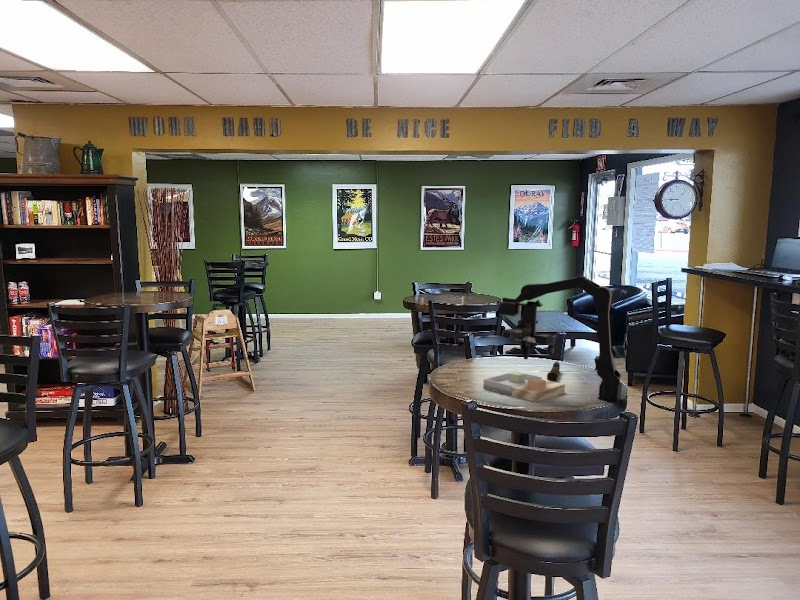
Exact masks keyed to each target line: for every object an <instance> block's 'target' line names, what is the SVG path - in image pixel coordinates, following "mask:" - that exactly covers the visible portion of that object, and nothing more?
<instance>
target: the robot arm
mask: <svg viewBox="0 0 800 600" xmlns="http://www.w3.org/2000/svg"><path fill="white" fill-rule="evenodd" d="M576 288H579V289H581V290H582V291H584V292H585V293H586V294H588V295H589V296H590V297H592V300H593V303H594V307H595V310H596V314H597V328H598V330H597V331H598V348H599V354H598V355H596V356H595V357H594V359H593V360H594V364H595V368H594V371H596V373H597V376H598V377H599V378H601V380H600V384H599V385H598V387H599V389H598V396H597V399H598V400H602V401H607V402H611V403H613V404H614V403H615V404H616V403H618V402H620V401H623V400H624V399H623V397H622V388H623V383H622V382H621V378H622V374H621V373H620V372H619V371H618V369H617V366H616V363H615V359H614V356H613V351H612V340H611V323H610V322H611V321H610V310H611V305H612V304H611V303H612V296H613V293H612V290H611V288H609V287H608V286H605V285H599V284H598V283H597V282H594V281H593V280H590V279H589V278H587V277H586V276H584V275H578V276H576V277H573V278H567V279H561V280H557V281H552V282H547V283H541V282H540V283H528V284H525V285H523V286H522V288H520V293H519V295H518V296H516V298H510V297H502V299H501V303H500V306H499V313H500V315H501V316H503V317H504V316H505V317H506V316H507V317H517V316H518V315H520V317H519V318H520V319H518V321H517V325H515V326H513V327H512V328H506V329H503V331H502V333H501V335H502V338H507V339H513V340H514V341H515V342H516V343H518V345H519V346H520V347H519V348H520V350H521V353H522V356H523V359H524V360H528V358H529V357H530V355H531V353H532V352H533V350H534V348H535V346H536V345H537V344H538V345H543V346H544V345H545V346H546V345H550V344H554V338H553V336H552V335H549V334H544V333H542V334H538V331H537V330H536V327H537V324H538V323H539V320H537V313H538V310H537V309H538V308H541V307H543V305H544V304H543V303H542V302H540V299H537V298H539V297H542V296H545V295H547V294H553V293H556V292H557V293H558V292H562V291H566V290H572V289H576ZM534 299H537V300H535V301H532V300H534ZM525 301H527V302H526V303H523V302H525Z"/></svg>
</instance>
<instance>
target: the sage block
mask: <svg viewBox="0 0 800 600" xmlns="http://www.w3.org/2000/svg"><path fill="white" fill-rule="evenodd" d="M514 371H515V372H513V371H510V372H511V373H509V372H507V373H508V381H510V382H514V383H521V382H525V374H526V373H525V374H524V372H521V373H520V371H517V370H514ZM516 371H517V372H516Z"/></svg>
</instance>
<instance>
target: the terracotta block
mask: <svg viewBox="0 0 800 600" xmlns="http://www.w3.org/2000/svg"><path fill="white" fill-rule="evenodd" d="M545 380H546V379H544V380H541V379H537V378H533V379H530V380H528V386H527V388H528V389H532V390H536V391H540V390H544V389H545V388H546V381H545Z"/></svg>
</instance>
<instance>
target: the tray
mask: <svg viewBox="0 0 800 600" xmlns="http://www.w3.org/2000/svg"><path fill="white" fill-rule="evenodd" d="M515 371H516V372H518V371H517V370H514V371H510V372H507V373H502V374H497V375H494V376H490V377H486V378H484V379H483V386H482V388H483V389H484V388H487V389H486V390H488V389H490V390H489V391H491V390H494V391H493V392H495V391H497V392H496V393H499V392H500V393H499V394H502V393H503V394H504V395H506V394H507V396H509V397H511V395H512V387H515V386H518V385H521V384H525V383H528V380H530V379H533V378H537V379H543V378H542V376H538V375H533V374H529V373H524V372H523V373H524V374H525V382H521V383H514V382H510V381H508V373H511V372H515ZM519 372H520V371H519ZM520 373H522V372H520Z"/></svg>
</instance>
